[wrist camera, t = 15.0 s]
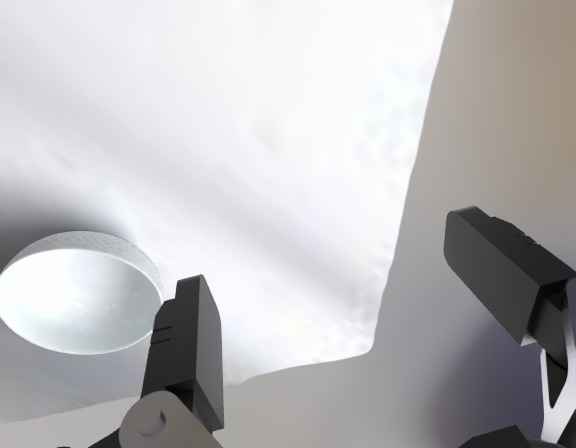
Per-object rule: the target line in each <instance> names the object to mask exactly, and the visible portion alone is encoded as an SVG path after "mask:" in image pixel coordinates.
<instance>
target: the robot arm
mask: <svg viewBox="0 0 576 448" xmlns="http://www.w3.org/2000/svg"><path fill="white" fill-rule="evenodd" d="M444 255H445V258H446V261H447V263H448V265H449V266H450V267H451V269H452V270H453V271H454V272H455V273H456V274H457V275H458V276H459V278H461V280H462V281H463V282H464V283H465V284H466V285H467V287H468V288H469V289H470V290H471V291H472V292H473V293H474V294H475V295H476V297H477V298H478V299H479V300H480V301H481V302H482V303H483V305H484V306H485V307H486V308H487V309H488V310H489V311H490V312H491V314H492V315H493V316H494V317H495V318H496V319H497V320H498V322H499V323H500V324H501V325H502V326H503V327H504V328H505V329H506V331H507V332H508V333H509V334H510V335H511V336H512V337H513V338H514V340H515V341H516V342H517V343H518V344H519V345H520V346H523V345H527V344H530V343H534V342H538V343H539V344H540V345H541V347H542V351H541V370H542V385H543V401H544V426H543V431H542V438H541V440H537V439H529V438H525V437H524V435H523V434H522V433H521V431H520V430H519V428H518V427H517V426H516V425H513V426H510V427H506V428H503V429H500V430H496V431H493V432H490V433H486V434H482V435H479V436H476V437H473V438H471V439H470V440H468V441H467V442H466V443H464V444H463V445H461V446H460V447H459V448H576V271H574V270H573V269H572V268H570V267H569V266H568V265H566V264H565V263H564V262H562V261H561V260H559V259H558V258H557V257H556V256H554V255H553V254H552V253H550V252H549V251H548V250H546V249H545V248H544V247H542V246H541V245H540V244H538V245H537V243H536V241H534V240H533V239H532V238H530V237H529V236H526V235H525V233H524V232H522V231H521V230H520V229H518V228H517V227H516V226H514V225H513V224H511V223H509V222H506V221H504V220H501V219H499V218H496V217H489V216H488V215H487V214H485V213H484V212H483V211H482V210H480V209H479V208H478V207H476V206H470V207H466V208H462V209H458V210H454V211H451V212H449V213H448V215H447V220H446V230H445V241H444ZM150 344H151V346H150V348H149V353H148V359H147V365H146V370H145V376H144V381H143V387H142V393H141V397H140V400H138V401H137V402H136V403H135V404H134V405H133V406H132V407H131V408H130V410H129V411H128V412H127V414H126V415H125V417H124V419H123V421H122V423H121V426H120V427H119V428H118V429H117V430H116V431H114V432H113V433H111V434H110V435H108V436H107V437H105V438H103V439H102V440H100V441H98V442H97V443H95V444H93V445H92V446H90V447H88V448H223V447H222V446H221V445H220V444H219V443H218V441H217V440H216V439H215V438H214V437H213V436H212V432H213V431H216V430H220V429H223V428H224V407H223V371H222V337H221V321H220V316H219V312H218V308H217V306H216V303H215V301H214V299H213V296H212V294H211V292H210V289H209V287H208V284H207V282H206V280H205V278H204V276H203V275H202V274H201V275H197V276H193V277H189V278H185V279H181V280H178V282H177V286H176V295H175V299H171V300H167V301H164V302H163V304H162V306H161V307H160V309H159V310H158V312H157V314H156V315H155V320H154V325H153V334H152V336H151V342H150ZM58 448H70V447H58Z"/></svg>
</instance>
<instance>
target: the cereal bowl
mask: <svg viewBox="0 0 576 448" xmlns="http://www.w3.org/2000/svg"><path fill="white" fill-rule="evenodd" d="M163 302H164V289H163V283H162V279H161V276H160V274H159V272H158V270H157V268H156V266H155V265H154V263H153V262H152V261H151V259H150V258H149V257H148V256H147V255H146V254H145V253H144V252H142V250H140V249H138V248H137V247H136V246H134V245H132V244H131V243H129V242H127V241H125V240H123V239H120V238H117V237H116V236H112V235H108V234H104V233H100V232H92V231H73V232H71V231H70V232H62V233H58V234H53V235H50V236H47V237H44V238H42V239H40V240H37V241H36V242H34V243H31V244H30V245H29V246H27V247H25V248H24V249H23V250H22V251H20V252H19V253H18V254H17V255H16V256H15V257H13V259H12V260H11V261H10V262H9V263H8V264H7V266H5V267H4V269H3V271H2V272H1V273H0V317H1V319H2V320H3V321H4V323H5V324H6V325H7V326H8V327H9V328H10V329H11V330H13V331H14V332H15V333H17V334H18V335H19V336H21V337H22V338H24V339H26V340H28V341H29V342H31V343H34V344H36V345H38V346H41V347H44V348H47V349H50V350H54V351H58V352H63V353H71V354H101V353H108V352H113V351H117V350H120V349H124V348H126V347H129V346H131V345H133V344H135V343H137V342H139V341H141V340H142V339H144V338H145V337H146V336H148V335H149V334H150V333H151V332H152V331H153V325H154V320H155V315H156V314H157V312H158V310H159V309H160V307H161V306H162V304H163Z"/></svg>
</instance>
